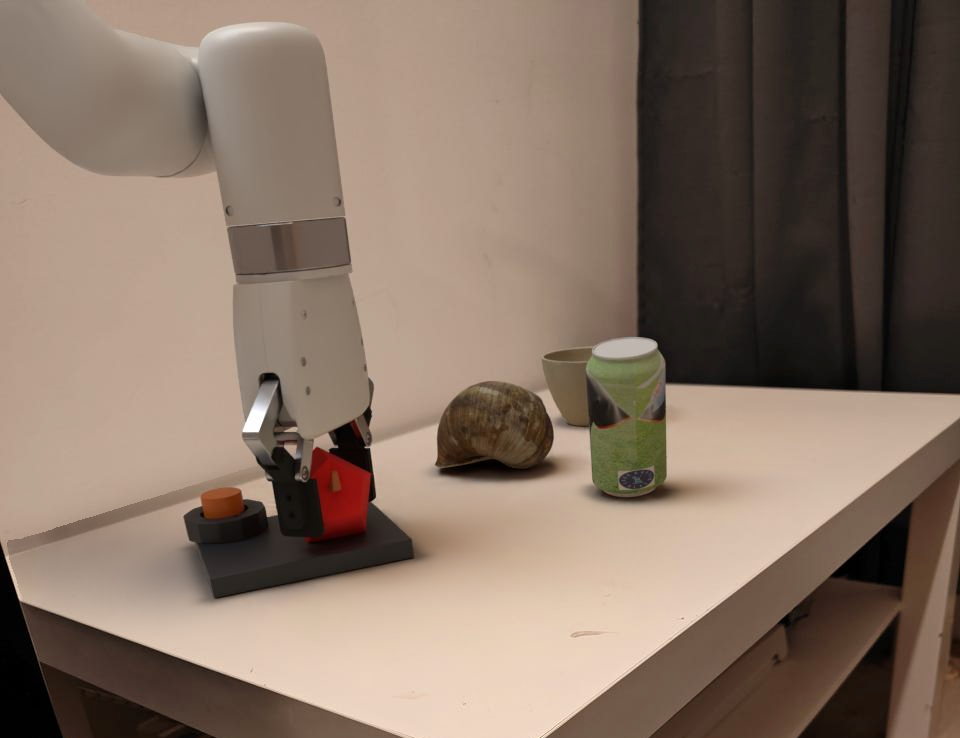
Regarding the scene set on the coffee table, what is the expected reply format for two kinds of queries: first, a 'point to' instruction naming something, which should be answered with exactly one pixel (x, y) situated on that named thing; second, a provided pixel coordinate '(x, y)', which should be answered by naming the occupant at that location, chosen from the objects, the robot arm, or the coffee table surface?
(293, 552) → the dark grey flat slab
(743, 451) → the coffee table surface
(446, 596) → the coffee table surface
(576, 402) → the flower pot
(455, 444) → the seashell
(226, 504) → the button
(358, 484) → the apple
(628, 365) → the beverage can
